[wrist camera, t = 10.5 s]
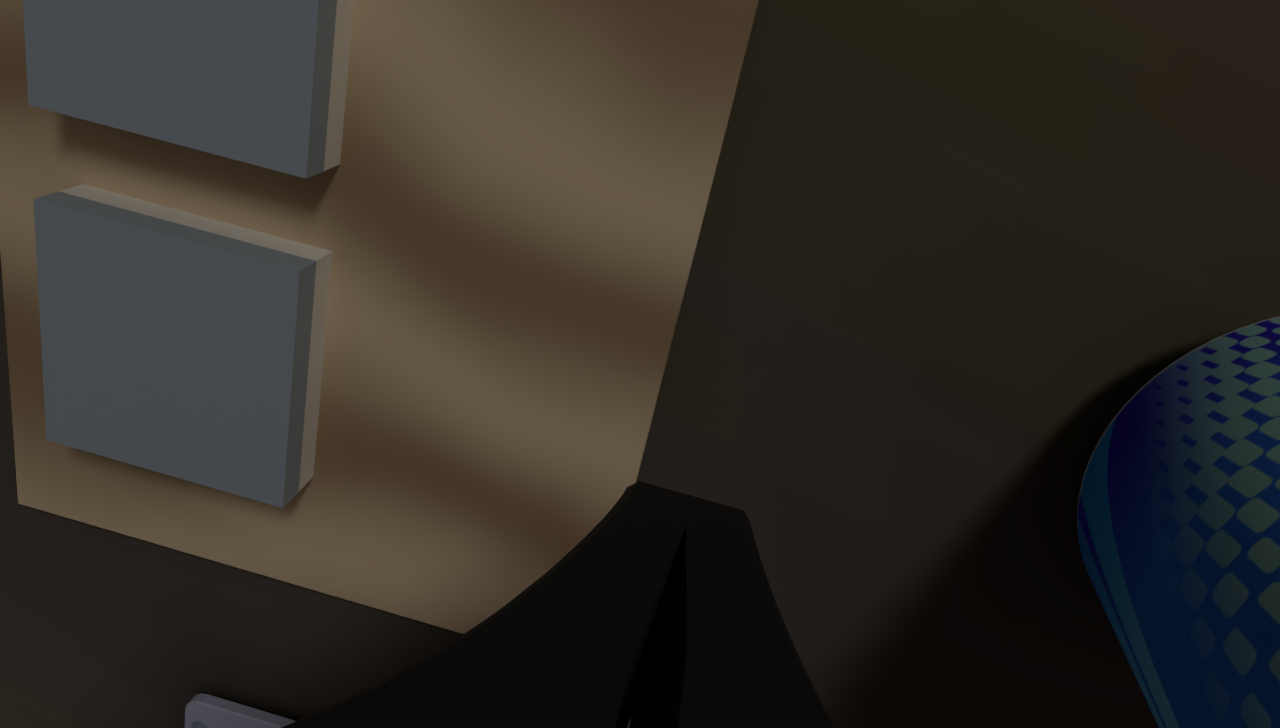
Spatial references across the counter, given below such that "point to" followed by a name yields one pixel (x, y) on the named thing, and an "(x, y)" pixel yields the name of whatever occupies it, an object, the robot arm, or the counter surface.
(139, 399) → the tile far
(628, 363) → the cork mat
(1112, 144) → the counter surface
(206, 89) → the tile near
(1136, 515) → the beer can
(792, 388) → the counter surface
